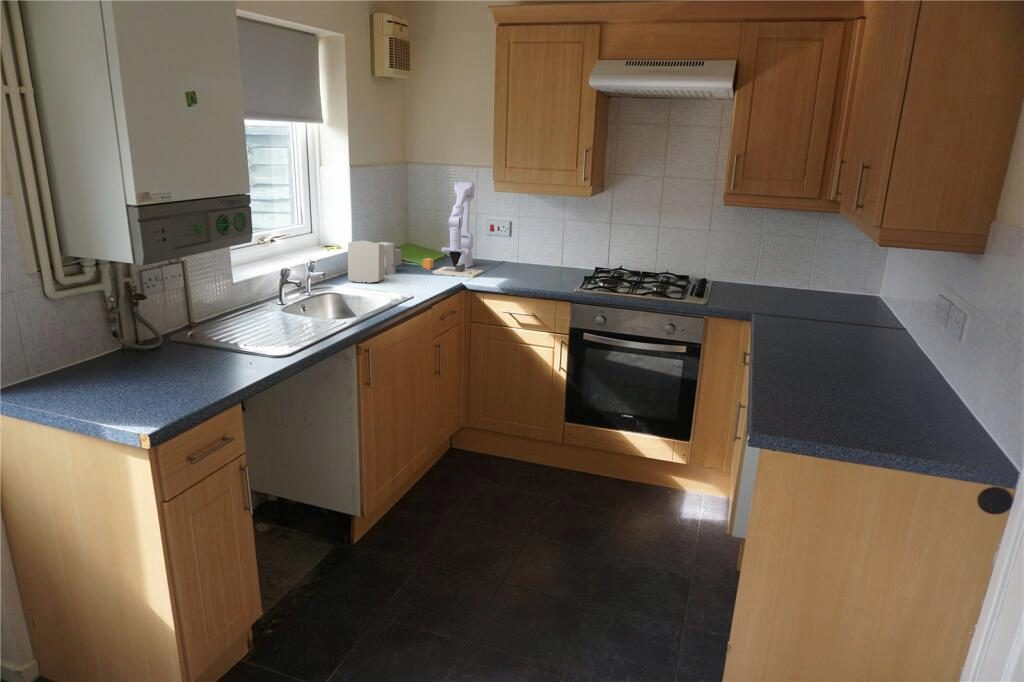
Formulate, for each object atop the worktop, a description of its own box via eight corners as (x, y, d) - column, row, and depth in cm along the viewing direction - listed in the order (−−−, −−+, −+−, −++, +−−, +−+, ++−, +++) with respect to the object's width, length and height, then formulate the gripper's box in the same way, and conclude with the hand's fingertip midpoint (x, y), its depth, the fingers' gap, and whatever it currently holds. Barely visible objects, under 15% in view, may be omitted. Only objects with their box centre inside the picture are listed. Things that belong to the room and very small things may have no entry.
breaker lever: (459, 269, 349) (459, 262, 348) (464, 269, 348) (464, 263, 347) (455, 270, 345) (455, 264, 344) (460, 271, 344) (460, 264, 343)
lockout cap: (426, 267, 359) (426, 258, 358) (433, 268, 358) (433, 258, 357) (422, 268, 356) (422, 259, 354) (429, 269, 354) (429, 260, 353)
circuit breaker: (404, 271, 349) (403, 241, 344) (385, 275, 337) (384, 245, 333) (392, 269, 352) (392, 240, 348) (373, 273, 341) (372, 243, 336)
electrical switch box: (387, 282, 333) (387, 240, 330) (378, 284, 318) (378, 240, 315) (357, 280, 334) (358, 239, 331) (347, 282, 319) (348, 239, 316)
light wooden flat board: (444, 268, 357) (444, 265, 356) (483, 272, 350) (483, 269, 350) (432, 273, 344) (432, 270, 344) (472, 277, 338) (472, 274, 337)
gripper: (439, 239, 341) (439, 266, 345) (465, 242, 337) (465, 269, 341) (445, 238, 348) (445, 264, 352) (471, 240, 343) (470, 266, 347)
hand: (455, 266), depth 347 cm, fingers closed
